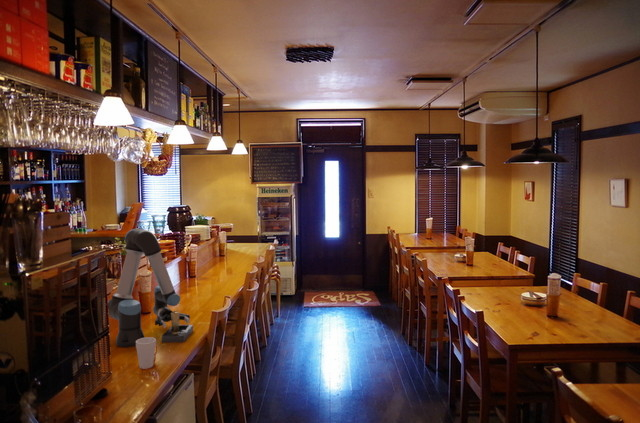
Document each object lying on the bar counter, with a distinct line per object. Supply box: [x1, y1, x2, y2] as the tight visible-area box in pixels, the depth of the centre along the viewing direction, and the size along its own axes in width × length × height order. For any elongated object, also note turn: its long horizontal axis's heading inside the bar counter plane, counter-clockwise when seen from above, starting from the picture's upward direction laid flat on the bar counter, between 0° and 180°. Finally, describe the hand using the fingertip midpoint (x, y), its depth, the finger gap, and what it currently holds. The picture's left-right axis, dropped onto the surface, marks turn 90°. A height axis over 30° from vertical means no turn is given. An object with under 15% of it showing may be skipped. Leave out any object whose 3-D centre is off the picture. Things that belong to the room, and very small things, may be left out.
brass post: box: [170, 310, 180, 334], centre depth 256 cm, size 6×6×15 cm
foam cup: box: [135, 336, 157, 370], centre depth 219 cm, size 10×9×13 cm
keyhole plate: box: [161, 324, 194, 343], centre depth 262 cm, size 19×12×4 cm, turn 1°
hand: (177, 323), depth 254 cm, fingers open, 13 cm apart
